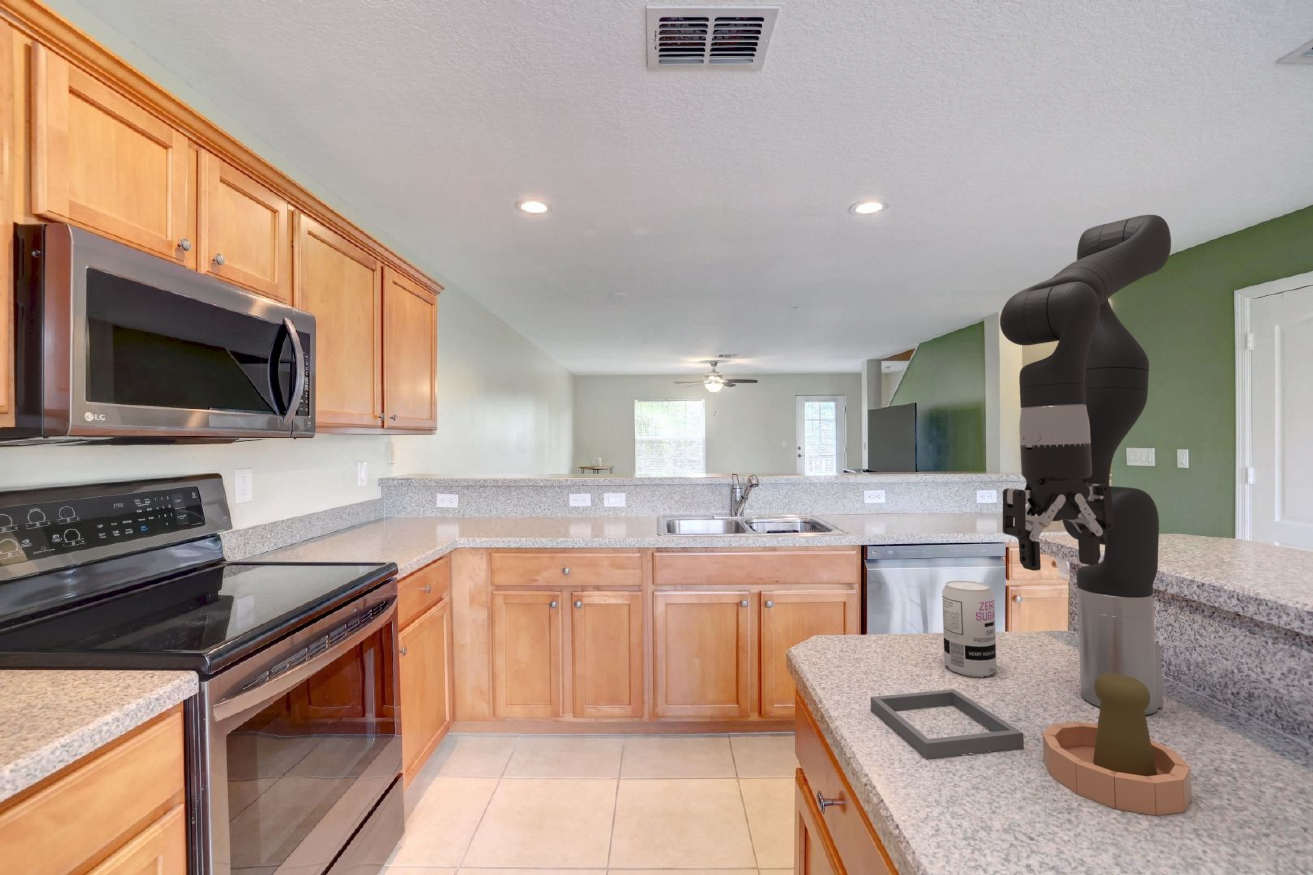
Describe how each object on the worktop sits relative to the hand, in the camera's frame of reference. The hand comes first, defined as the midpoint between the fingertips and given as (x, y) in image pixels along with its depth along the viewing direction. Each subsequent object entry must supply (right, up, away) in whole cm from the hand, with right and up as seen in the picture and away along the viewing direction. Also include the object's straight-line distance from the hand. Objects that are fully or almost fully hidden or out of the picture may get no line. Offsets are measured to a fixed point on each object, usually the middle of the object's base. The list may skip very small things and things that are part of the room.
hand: (1060, 566), depth 74 cm
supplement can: (+4, -25, +28) cm, 38 cm away
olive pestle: (+4, -23, -5) cm, 24 cm away
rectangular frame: (-11, -25, +8) cm, 28 cm away
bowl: (+3, -24, -5) cm, 25 cm away
